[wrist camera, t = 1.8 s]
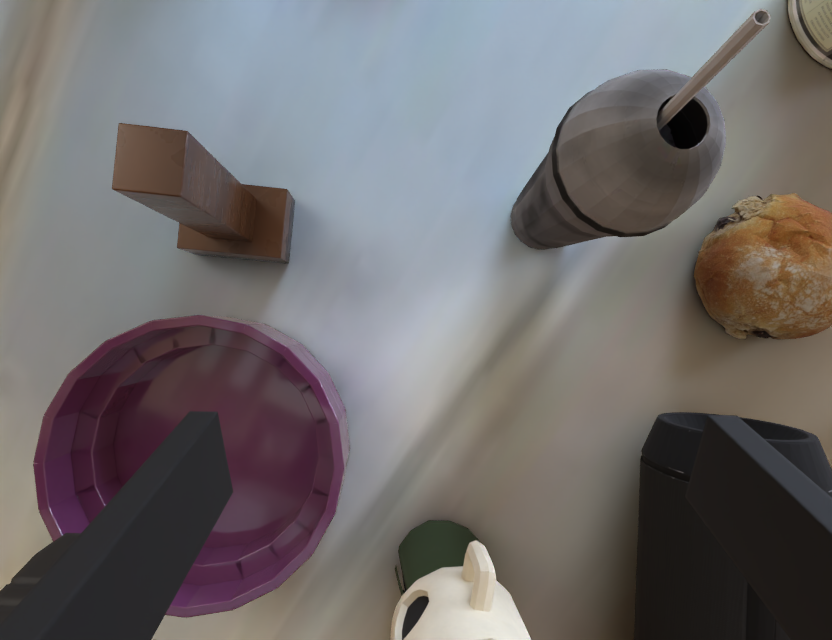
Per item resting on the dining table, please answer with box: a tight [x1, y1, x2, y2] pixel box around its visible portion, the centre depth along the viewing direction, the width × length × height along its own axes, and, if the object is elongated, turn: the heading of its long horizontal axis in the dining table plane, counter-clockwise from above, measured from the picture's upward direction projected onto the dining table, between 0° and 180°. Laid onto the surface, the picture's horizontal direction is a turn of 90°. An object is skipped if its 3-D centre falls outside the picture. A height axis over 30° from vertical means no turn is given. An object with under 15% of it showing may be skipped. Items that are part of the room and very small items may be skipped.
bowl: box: [33, 315, 350, 618], centre depth 28 cm, size 17×17×5 cm
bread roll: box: [694, 193, 832, 339], centre depth 31 cm, size 10×10×8 cm
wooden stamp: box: [112, 123, 295, 263], centre depth 25 cm, size 6×4×12 cm
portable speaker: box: [634, 412, 832, 640], centre depth 28 cm, size 26×10×10 cm, turn 178°
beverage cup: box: [511, 9, 771, 249], centre depth 22 cm, size 7×7×20 cm
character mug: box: [390, 521, 531, 640], centre depth 25 cm, size 11×7×13 cm, turn 170°
